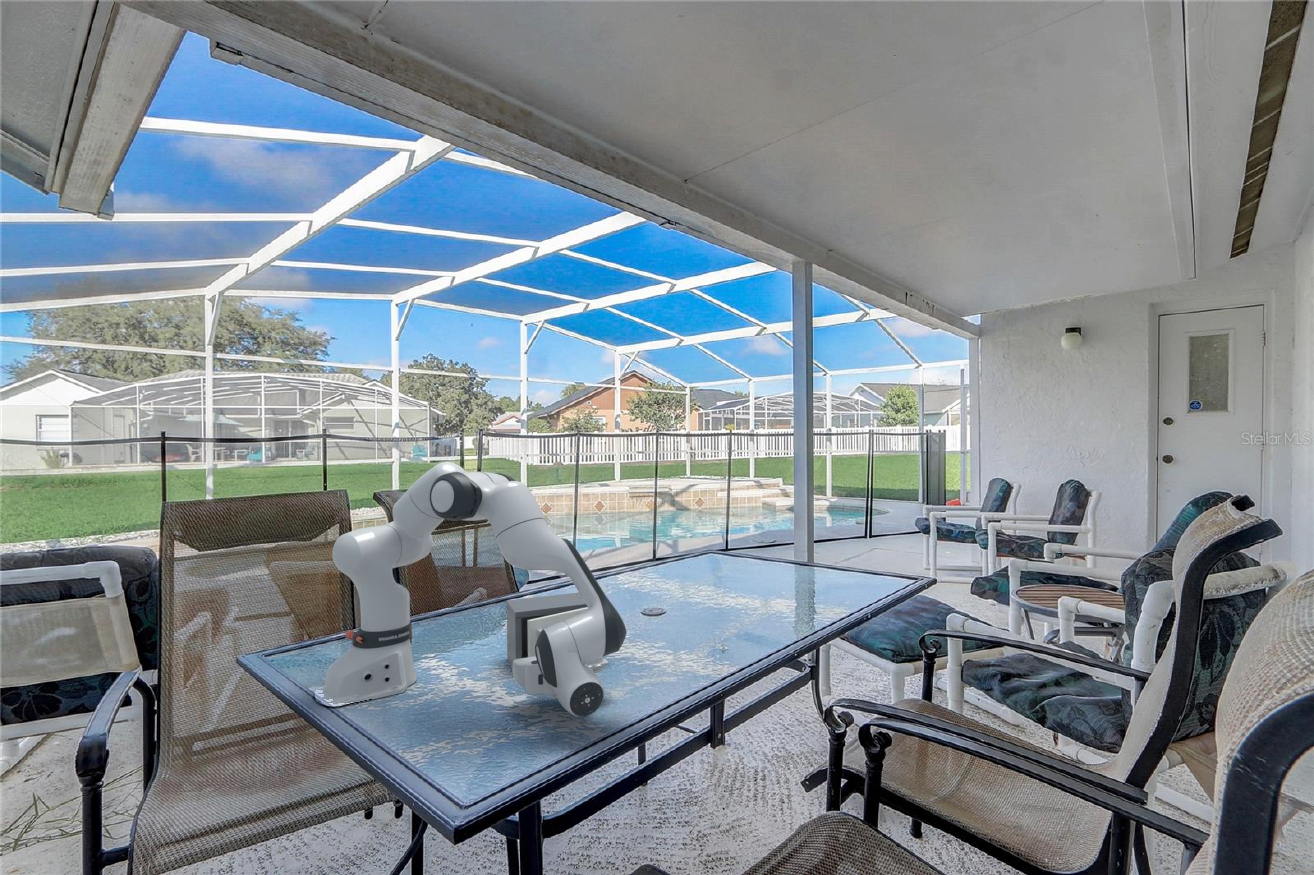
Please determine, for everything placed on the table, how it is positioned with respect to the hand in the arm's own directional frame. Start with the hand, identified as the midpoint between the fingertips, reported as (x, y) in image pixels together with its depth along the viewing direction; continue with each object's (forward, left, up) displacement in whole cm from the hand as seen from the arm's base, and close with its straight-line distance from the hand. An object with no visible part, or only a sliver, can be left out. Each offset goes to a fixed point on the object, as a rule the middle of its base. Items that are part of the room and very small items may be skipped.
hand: (551, 654), depth 140 cm
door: (+8, +2, -8) cm, 11 cm away
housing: (+11, +15, -8) cm, 21 cm away
